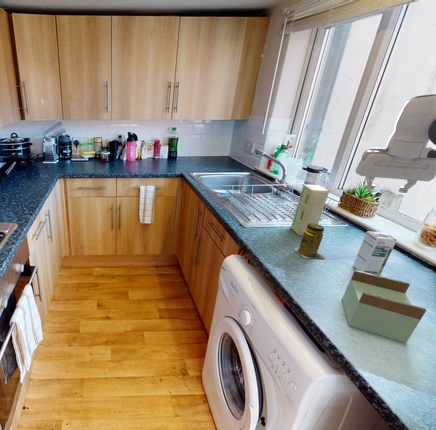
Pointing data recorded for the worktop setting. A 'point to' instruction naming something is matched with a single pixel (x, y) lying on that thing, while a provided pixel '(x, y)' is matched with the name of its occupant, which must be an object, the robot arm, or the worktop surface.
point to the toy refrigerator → (309, 207)
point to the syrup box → (374, 252)
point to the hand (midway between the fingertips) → (385, 190)
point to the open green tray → (380, 306)
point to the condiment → (311, 241)
